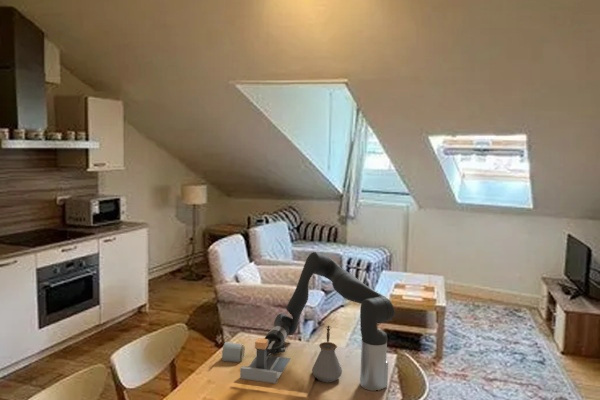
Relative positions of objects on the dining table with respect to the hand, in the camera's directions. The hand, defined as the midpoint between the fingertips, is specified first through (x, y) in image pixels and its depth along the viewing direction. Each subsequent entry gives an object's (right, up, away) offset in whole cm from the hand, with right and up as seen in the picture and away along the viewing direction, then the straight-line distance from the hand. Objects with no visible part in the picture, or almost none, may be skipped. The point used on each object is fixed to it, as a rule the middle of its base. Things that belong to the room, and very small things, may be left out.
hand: (263, 355), depth 189 cm
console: (+1, -7, +5) cm, 9 cm away
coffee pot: (+24, -8, +6) cm, 26 cm away
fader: (-1, -7, -1) cm, 7 cm away
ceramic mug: (-13, -6, +14) cm, 20 cm away
